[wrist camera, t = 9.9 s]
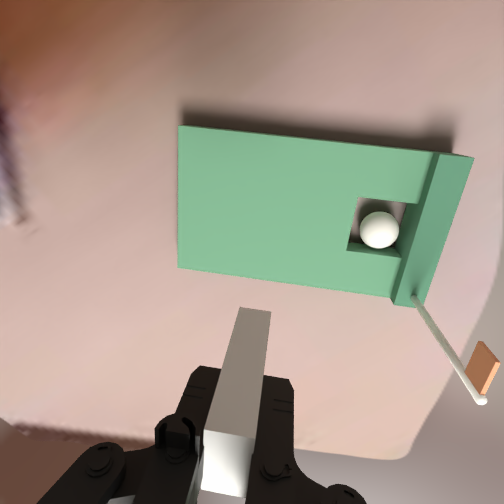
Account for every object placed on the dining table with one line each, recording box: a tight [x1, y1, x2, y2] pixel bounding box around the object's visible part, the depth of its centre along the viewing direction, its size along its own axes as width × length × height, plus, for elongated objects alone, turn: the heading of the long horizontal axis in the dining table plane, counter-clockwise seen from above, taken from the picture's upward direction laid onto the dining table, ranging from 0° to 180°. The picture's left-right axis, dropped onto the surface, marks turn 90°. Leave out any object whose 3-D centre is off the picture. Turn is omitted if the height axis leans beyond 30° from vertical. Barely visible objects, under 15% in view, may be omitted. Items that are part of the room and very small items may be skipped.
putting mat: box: [178, 125, 500, 405], centre depth 29 cm, size 16×28×18 cm, turn 85°
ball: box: [360, 212, 399, 248], centre depth 35 cm, size 4×4×4 cm
